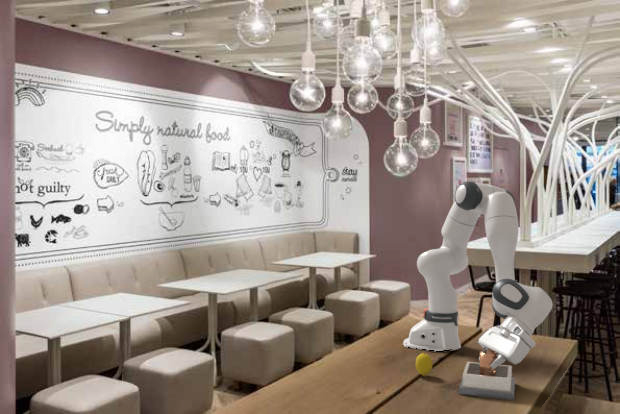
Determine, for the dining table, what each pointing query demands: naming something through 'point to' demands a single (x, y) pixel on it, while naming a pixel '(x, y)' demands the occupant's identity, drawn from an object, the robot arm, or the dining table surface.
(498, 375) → the open square box
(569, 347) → the dining table surface
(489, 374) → the copper upright cylinder
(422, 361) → the lemon
